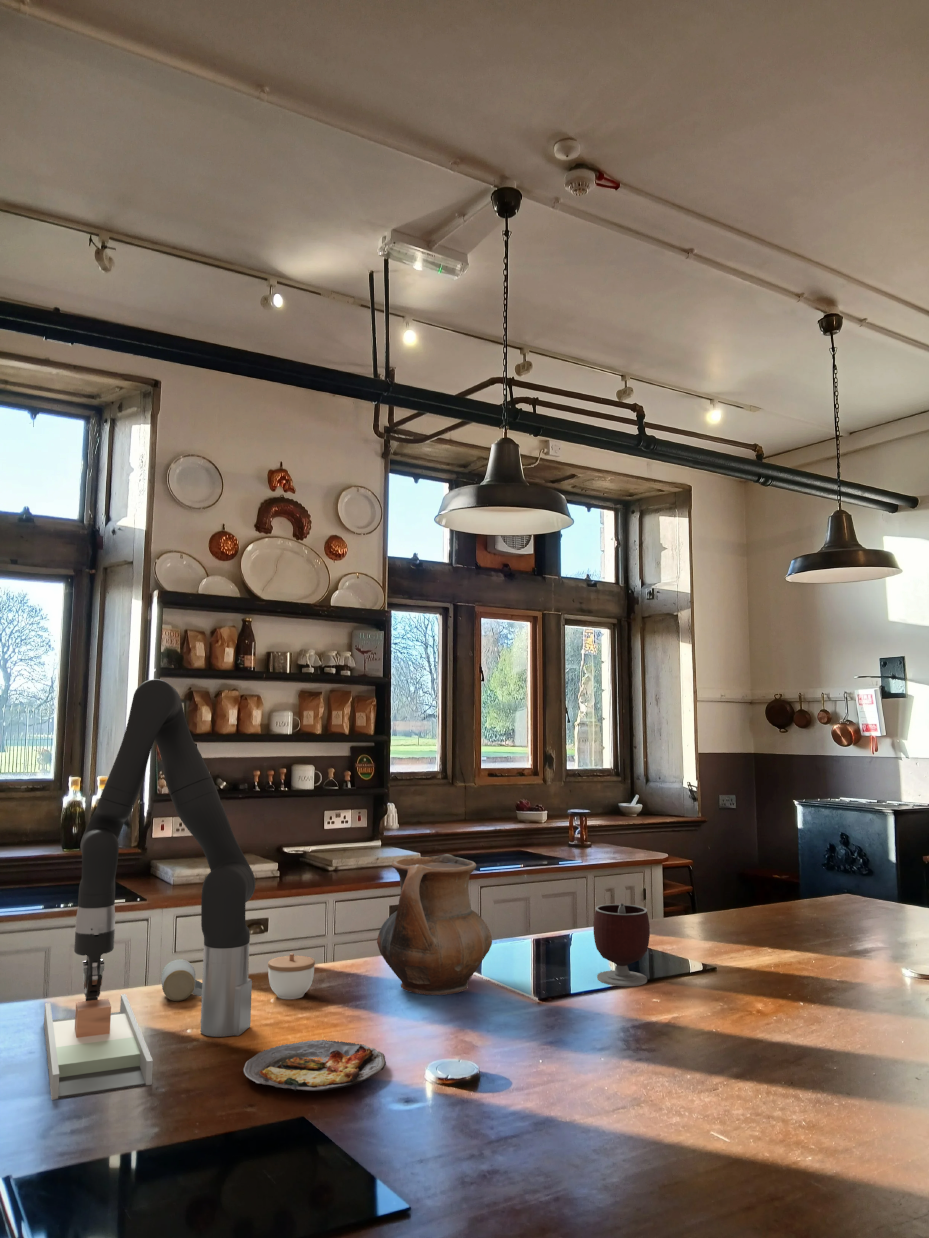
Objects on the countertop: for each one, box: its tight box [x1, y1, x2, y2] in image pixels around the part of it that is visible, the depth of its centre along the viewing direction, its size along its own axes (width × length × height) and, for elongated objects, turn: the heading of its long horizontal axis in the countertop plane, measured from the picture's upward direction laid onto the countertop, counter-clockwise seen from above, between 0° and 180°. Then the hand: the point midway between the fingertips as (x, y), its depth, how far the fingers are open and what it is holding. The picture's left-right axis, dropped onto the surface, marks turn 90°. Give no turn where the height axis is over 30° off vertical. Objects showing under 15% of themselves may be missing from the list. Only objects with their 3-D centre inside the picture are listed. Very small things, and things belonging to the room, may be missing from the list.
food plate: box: [243, 1039, 387, 1092], centre depth 167 cm, size 25×23×4 cm
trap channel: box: [43, 993, 154, 1101], centre depth 178 cm, size 44×16×4 cm, turn 26°
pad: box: [56, 1037, 140, 1077], centre depth 171 cm, size 10×14×2 cm
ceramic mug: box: [160, 958, 202, 1002], centre depth 214 cm, size 11×8×8 cm
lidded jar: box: [267, 952, 316, 1000], centre depth 215 cm, size 11×11×9 cm
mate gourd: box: [593, 902, 651, 987], centre depth 231 cm, size 16×14×20 cm
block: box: [74, 998, 112, 1038], centre depth 182 cm, size 6×6×5 cm
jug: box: [376, 853, 493, 996], centre depth 226 cm, size 32×28×30 cm
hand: (90, 1016), depth 188 cm, fingers closed
